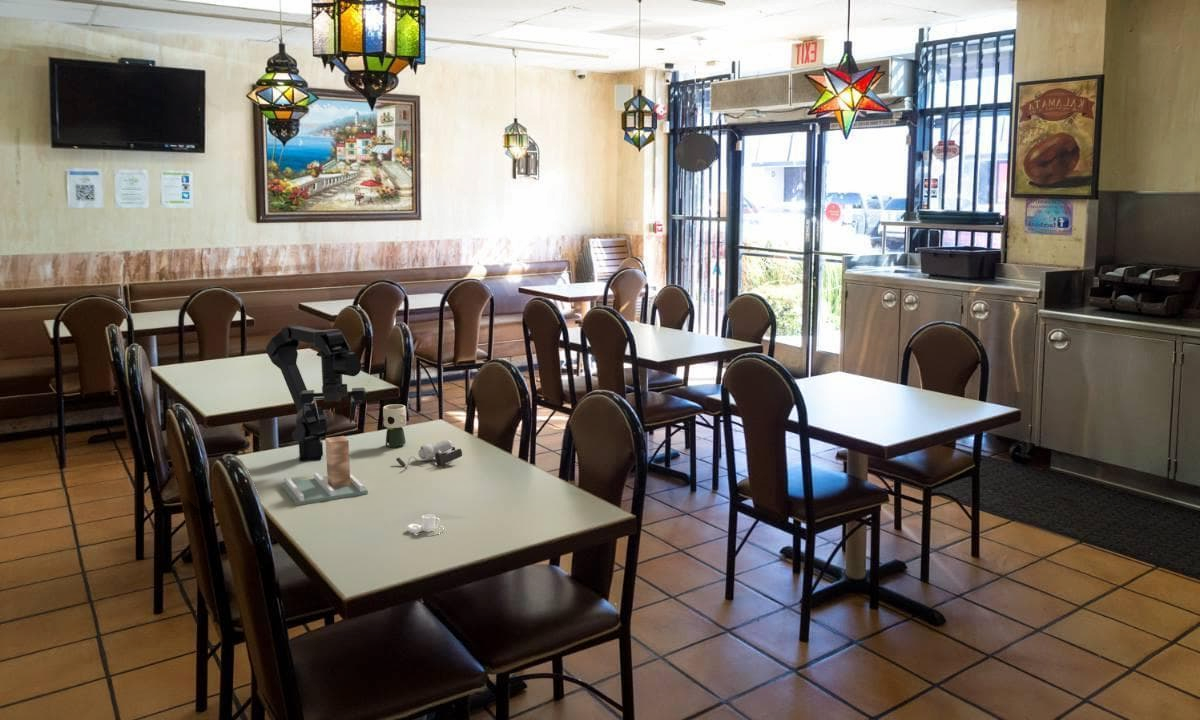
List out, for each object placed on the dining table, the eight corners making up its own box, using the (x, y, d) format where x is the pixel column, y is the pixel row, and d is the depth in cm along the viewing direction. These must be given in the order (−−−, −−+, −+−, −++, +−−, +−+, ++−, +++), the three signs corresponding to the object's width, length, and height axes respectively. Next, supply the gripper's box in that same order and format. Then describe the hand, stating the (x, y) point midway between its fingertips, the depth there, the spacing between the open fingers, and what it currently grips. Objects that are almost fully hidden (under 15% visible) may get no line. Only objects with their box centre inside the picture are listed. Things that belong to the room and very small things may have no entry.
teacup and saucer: (402, 535, 230) (402, 519, 229) (420, 524, 237) (419, 508, 237) (434, 540, 227) (433, 523, 226) (451, 529, 234) (450, 513, 234)
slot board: (281, 486, 265) (281, 478, 265) (349, 476, 274) (349, 468, 274) (296, 505, 250) (296, 496, 249) (367, 493, 259) (367, 485, 259)
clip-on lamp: (408, 482, 279) (465, 461, 287) (403, 462, 277) (460, 442, 284) (396, 467, 289) (451, 447, 297) (391, 449, 287) (447, 429, 294)
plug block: (332, 488, 261) (330, 442, 258) (327, 483, 265) (325, 438, 262) (350, 485, 263) (348, 440, 261) (345, 480, 267) (343, 435, 265)
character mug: (376, 445, 307) (374, 406, 305) (393, 440, 312) (392, 402, 310) (397, 451, 300) (396, 411, 298) (415, 446, 306) (413, 407, 303)
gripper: (297, 379, 270) (300, 432, 272) (364, 376, 274) (367, 428, 277) (299, 371, 280) (302, 423, 283) (364, 368, 285) (366, 419, 288)
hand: (334, 423), depth 282 cm, fingers open, 9 cm apart
